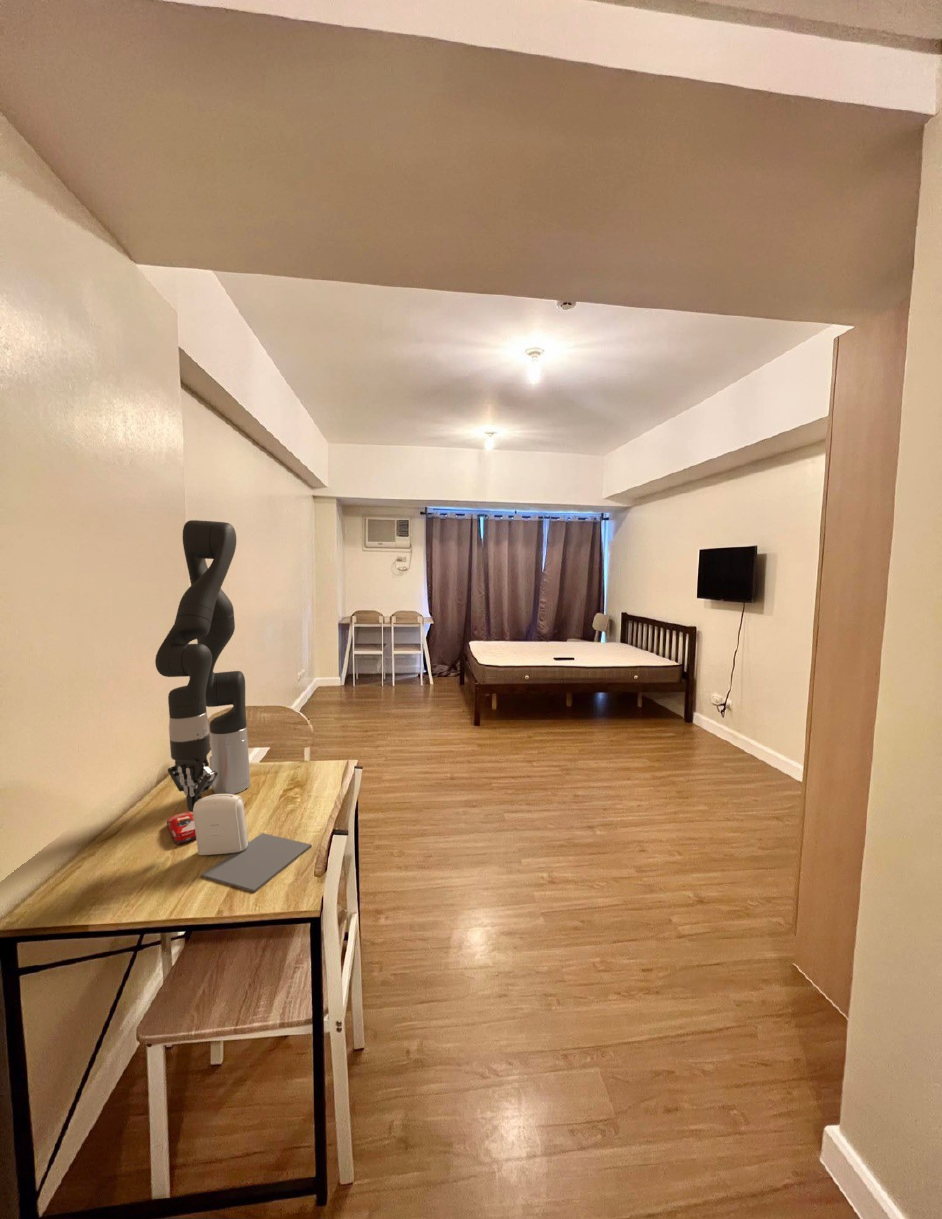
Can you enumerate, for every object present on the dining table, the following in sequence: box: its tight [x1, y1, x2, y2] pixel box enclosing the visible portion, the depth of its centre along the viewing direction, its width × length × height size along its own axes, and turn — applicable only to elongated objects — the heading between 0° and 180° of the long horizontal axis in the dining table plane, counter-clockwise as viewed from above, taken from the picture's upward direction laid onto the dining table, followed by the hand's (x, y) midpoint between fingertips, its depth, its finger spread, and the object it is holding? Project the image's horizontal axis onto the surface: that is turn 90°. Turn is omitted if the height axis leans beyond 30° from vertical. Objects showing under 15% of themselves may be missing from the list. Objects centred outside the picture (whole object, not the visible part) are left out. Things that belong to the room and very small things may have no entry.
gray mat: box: [200, 832, 312, 893], centre depth 101 cm, size 14×16×1 cm
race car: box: [166, 812, 196, 845], centre depth 113 cm, size 13×5×4 cm, turn 39°
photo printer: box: [192, 793, 249, 856], centre depth 104 cm, size 10×4×12 cm, turn 90°
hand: (195, 810), depth 106 cm, fingers closed
